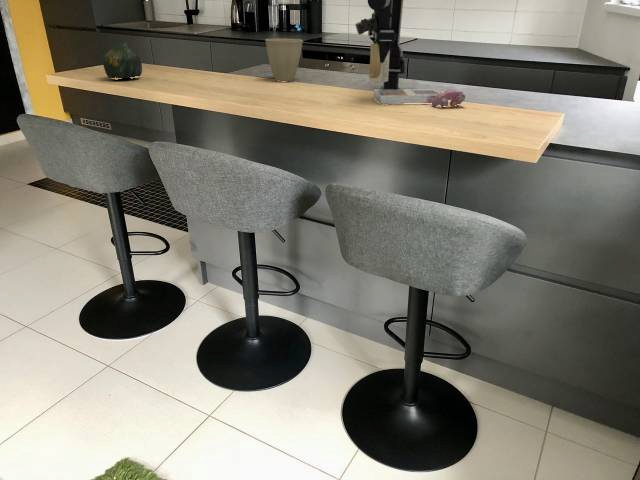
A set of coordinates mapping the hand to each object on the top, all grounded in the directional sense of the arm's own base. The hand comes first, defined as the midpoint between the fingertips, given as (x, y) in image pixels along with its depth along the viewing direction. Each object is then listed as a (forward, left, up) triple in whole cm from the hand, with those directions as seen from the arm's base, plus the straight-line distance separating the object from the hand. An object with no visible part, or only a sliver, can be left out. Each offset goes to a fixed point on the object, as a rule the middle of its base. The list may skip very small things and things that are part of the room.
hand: (379, 61), depth 170 cm
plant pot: (-44, -31, -13) cm, 55 cm away
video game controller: (+11, +21, -13) cm, 27 cm away
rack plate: (+1, +10, -13) cm, 17 cm away
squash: (-47, -96, -13) cm, 107 cm away
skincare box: (0, 0, -7) cm, 7 cm away
